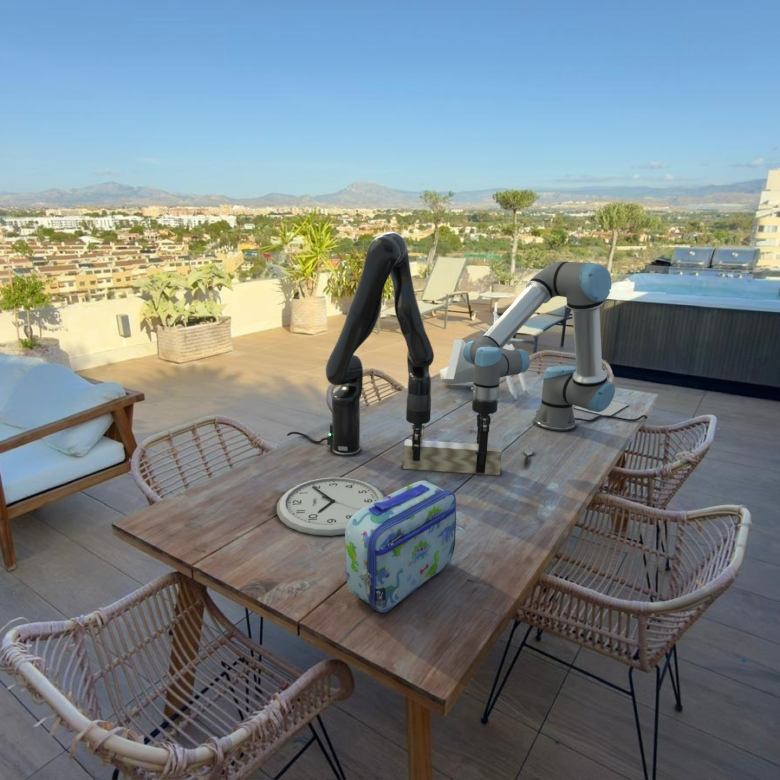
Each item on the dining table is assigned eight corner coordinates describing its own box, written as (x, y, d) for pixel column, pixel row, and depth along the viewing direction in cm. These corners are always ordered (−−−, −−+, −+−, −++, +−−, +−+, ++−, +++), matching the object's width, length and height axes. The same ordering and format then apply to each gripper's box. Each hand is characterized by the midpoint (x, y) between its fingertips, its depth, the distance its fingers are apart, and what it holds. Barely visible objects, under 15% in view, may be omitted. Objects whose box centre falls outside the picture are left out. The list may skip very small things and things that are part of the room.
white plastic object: (461, 429, 252) (437, 405, 227) (444, 352, 274) (420, 323, 250) (535, 404, 240) (518, 377, 215) (510, 326, 262) (492, 293, 237)
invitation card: (608, 416, 214) (573, 407, 224) (608, 416, 214) (573, 408, 224) (628, 404, 229) (594, 396, 238) (628, 405, 229) (594, 397, 238)
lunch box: (374, 626, 100) (375, 530, 93) (338, 598, 107) (337, 508, 101) (459, 568, 117) (465, 484, 111) (424, 547, 124) (427, 467, 118)
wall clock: (392, 527, 129) (268, 531, 127) (391, 533, 130) (269, 537, 127) (383, 473, 158) (282, 475, 155) (383, 478, 158) (282, 480, 156)
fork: (520, 467, 167) (520, 462, 166) (525, 449, 181) (526, 443, 181) (528, 469, 166) (529, 463, 165) (533, 450, 180) (533, 444, 180)
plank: (498, 468, 167) (500, 445, 164) (499, 475, 162) (501, 451, 160) (404, 462, 170) (405, 439, 168) (403, 468, 165) (404, 445, 163)
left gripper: (408, 398, 168) (407, 447, 173) (404, 413, 155) (402, 465, 160) (431, 399, 167) (429, 448, 172) (429, 414, 154) (427, 467, 159)
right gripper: (471, 388, 167) (467, 455, 174) (473, 407, 150) (468, 480, 157) (495, 390, 166) (490, 457, 173) (500, 408, 149) (493, 482, 156)
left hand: (416, 456), depth 166 cm, fingers closed on plank, 5 cm apart
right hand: (479, 468), depth 165 cm, fingers closed on plank, 5 cm apart
